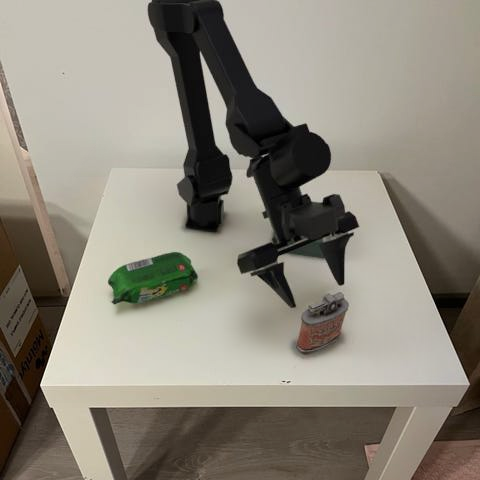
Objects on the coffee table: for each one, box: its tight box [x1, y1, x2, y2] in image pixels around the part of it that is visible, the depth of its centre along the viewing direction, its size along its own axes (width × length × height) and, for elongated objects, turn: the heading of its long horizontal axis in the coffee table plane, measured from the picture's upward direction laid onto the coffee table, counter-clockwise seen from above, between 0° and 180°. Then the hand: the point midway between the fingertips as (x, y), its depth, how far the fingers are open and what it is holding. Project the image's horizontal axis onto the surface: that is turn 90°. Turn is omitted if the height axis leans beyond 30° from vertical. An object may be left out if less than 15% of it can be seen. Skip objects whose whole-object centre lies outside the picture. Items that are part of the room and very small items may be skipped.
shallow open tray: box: [273, 201, 325, 259], centre depth 95 cm, size 13×13×4 cm
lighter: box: [295, 291, 350, 356], centre depth 74 cm, size 8×3×10 cm, turn 120°
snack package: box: [107, 251, 199, 305], centre depth 83 cm, size 7×16×5 cm, turn 115°
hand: (318, 296), depth 73 cm, fingers open, 9 cm apart
